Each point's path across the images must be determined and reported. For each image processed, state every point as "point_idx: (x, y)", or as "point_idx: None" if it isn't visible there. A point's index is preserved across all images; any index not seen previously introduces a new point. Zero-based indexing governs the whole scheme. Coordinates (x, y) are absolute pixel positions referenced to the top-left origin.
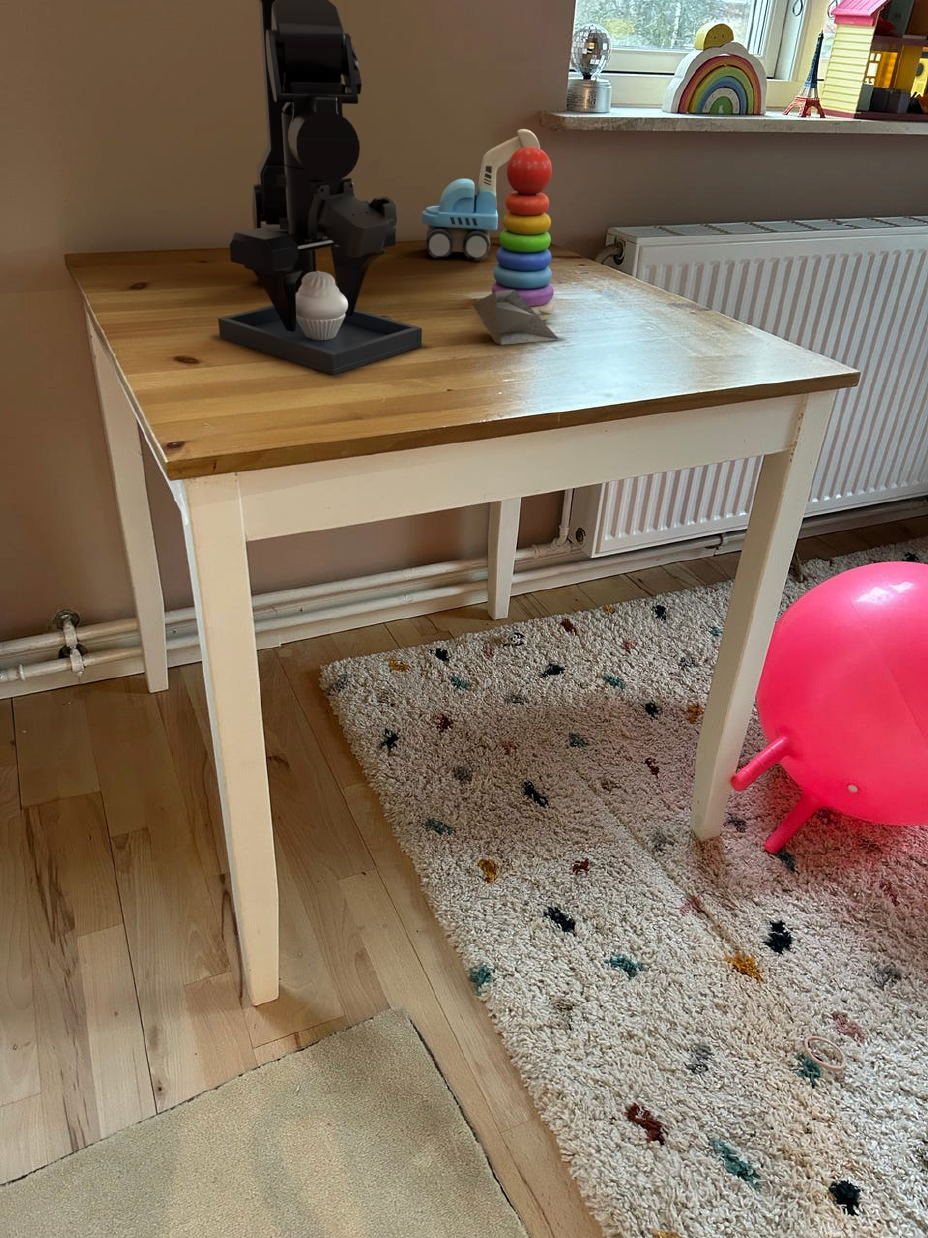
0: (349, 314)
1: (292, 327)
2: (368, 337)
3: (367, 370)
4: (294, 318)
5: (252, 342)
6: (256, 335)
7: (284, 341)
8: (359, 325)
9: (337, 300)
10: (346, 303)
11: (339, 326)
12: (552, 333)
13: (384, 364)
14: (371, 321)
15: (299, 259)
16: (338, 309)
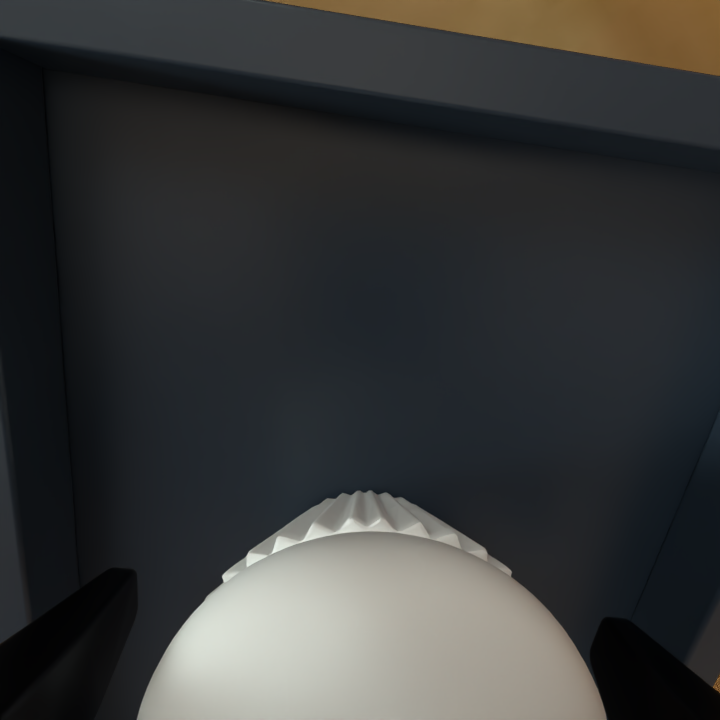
0: (133, 577)
1: (649, 636)
2: (204, 357)
3: (658, 25)
4: (682, 683)
5: None
6: None
7: None
8: (74, 518)
9: (394, 653)
10: (270, 596)
11: (331, 506)
12: None
13: (493, 4)
14: (38, 458)
15: None
16: (421, 563)
